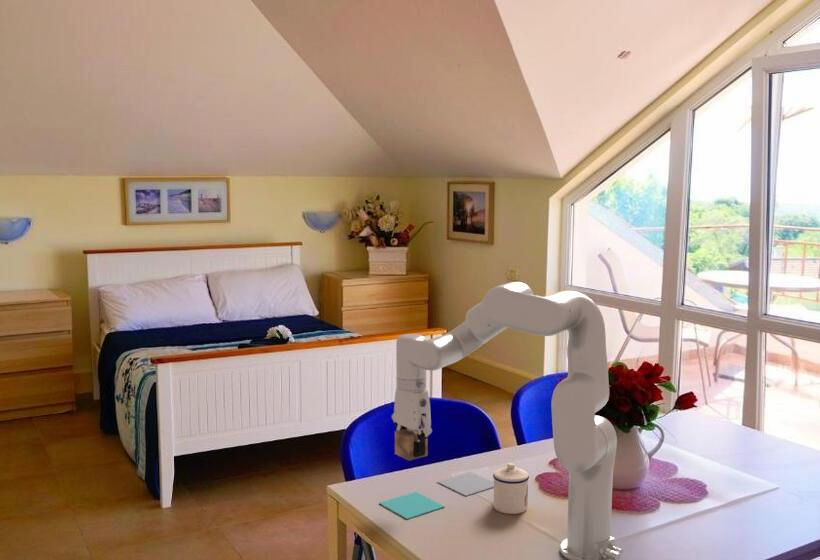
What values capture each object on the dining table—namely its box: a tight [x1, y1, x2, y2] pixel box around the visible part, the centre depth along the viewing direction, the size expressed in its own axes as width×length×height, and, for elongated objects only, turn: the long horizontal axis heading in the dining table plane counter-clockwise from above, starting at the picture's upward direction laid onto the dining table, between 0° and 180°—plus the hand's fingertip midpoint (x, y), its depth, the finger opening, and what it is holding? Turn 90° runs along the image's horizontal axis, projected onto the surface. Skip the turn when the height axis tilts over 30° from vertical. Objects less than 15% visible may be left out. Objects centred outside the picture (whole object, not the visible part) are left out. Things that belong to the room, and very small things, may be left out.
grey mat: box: [437, 471, 494, 497], centre depth 229 cm, size 12×12×1 cm
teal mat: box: [378, 491, 446, 520], centre depth 215 cm, size 12×12×1 cm
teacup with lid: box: [492, 462, 530, 515], centre depth 214 cm, size 12×9×12 cm
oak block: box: [394, 428, 429, 462], centre depth 212 cm, size 6×6×6 cm
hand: (411, 451), depth 213 cm, fingers closed on oak block, 6 cm apart
